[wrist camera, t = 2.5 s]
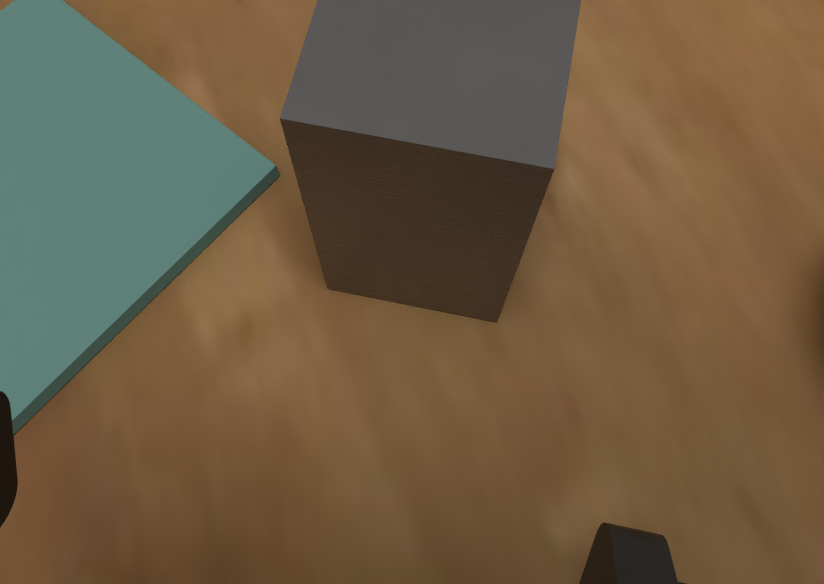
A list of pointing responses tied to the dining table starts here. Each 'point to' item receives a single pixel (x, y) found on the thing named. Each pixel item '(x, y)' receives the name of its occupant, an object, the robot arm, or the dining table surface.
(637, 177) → the dining table surface
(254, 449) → the dining table surface
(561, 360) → the dining table surface
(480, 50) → the block
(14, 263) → the teal mat
